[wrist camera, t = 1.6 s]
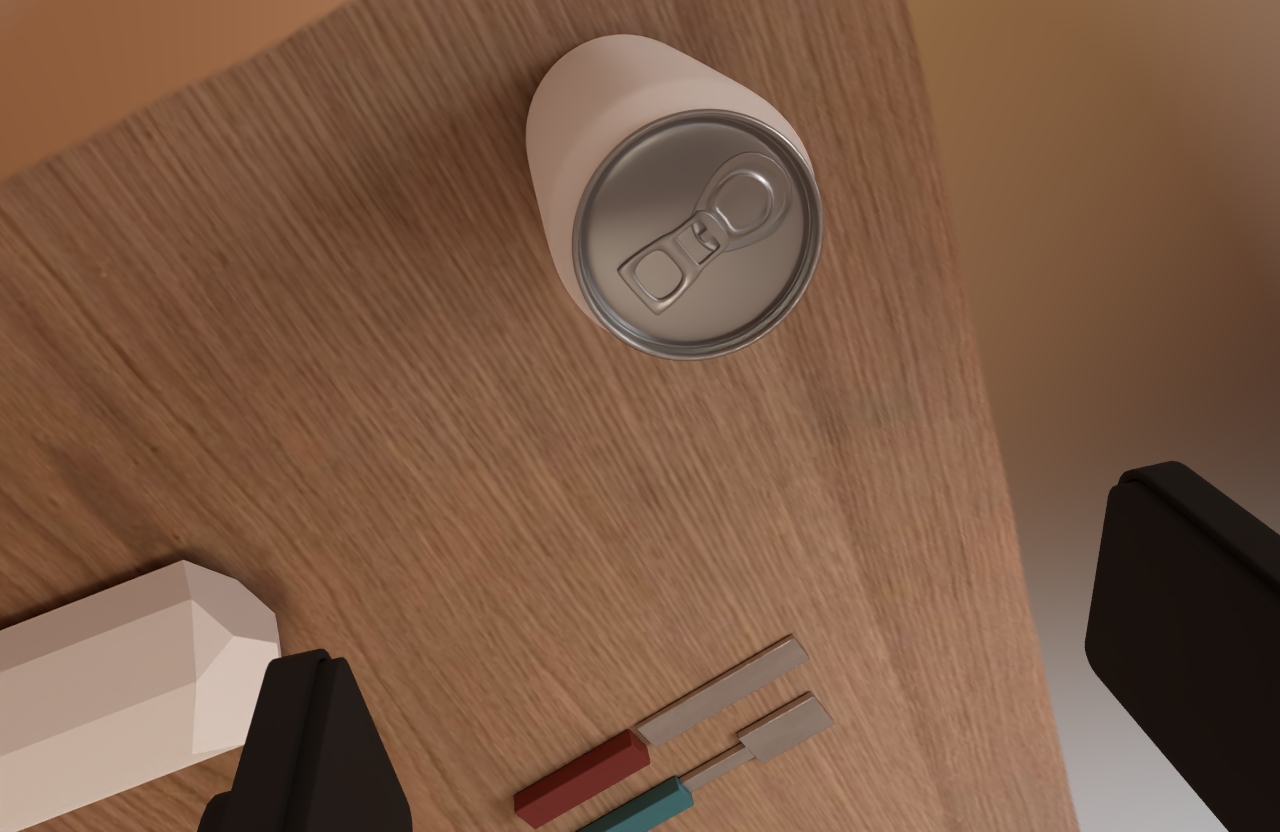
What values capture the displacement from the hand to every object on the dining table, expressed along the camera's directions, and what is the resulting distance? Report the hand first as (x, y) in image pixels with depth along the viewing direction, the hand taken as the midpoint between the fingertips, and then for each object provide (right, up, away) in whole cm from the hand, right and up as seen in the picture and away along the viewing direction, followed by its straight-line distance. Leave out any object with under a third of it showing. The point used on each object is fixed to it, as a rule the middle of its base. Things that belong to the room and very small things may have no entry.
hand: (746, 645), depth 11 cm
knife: (-1, -13, +33) cm, 35 cm away
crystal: (-27, -9, +26) cm, 38 cm away
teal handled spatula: (+2, -16, +35) cm, 38 cm away
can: (-2, +12, +19) cm, 23 cm away
